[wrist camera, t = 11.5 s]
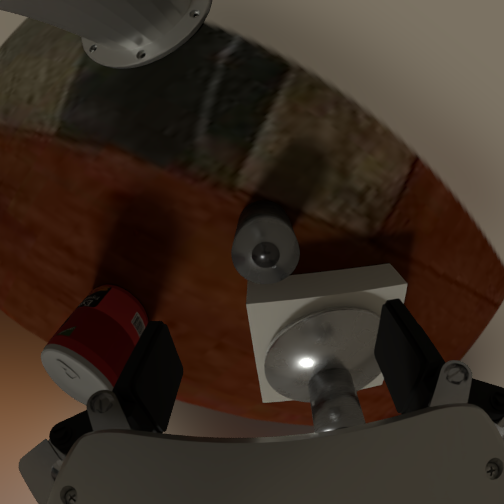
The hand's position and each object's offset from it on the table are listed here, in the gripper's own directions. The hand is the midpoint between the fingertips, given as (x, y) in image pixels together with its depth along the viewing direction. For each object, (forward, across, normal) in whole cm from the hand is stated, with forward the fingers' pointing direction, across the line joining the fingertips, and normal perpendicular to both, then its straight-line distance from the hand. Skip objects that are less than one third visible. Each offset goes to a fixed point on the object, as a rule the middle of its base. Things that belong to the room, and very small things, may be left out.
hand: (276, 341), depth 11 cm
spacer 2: (+8, -5, +14) cm, 17 cm away
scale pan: (+9, -5, +11) cm, 15 cm away
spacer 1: (+14, 0, -1) cm, 14 cm away
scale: (+14, -5, +11) cm, 18 cm away
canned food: (+14, +17, +7) cm, 23 cm away
